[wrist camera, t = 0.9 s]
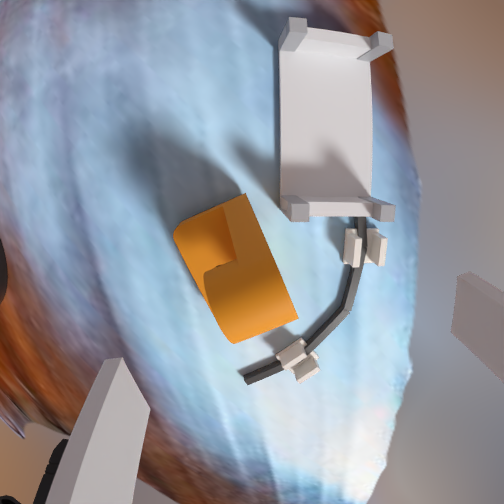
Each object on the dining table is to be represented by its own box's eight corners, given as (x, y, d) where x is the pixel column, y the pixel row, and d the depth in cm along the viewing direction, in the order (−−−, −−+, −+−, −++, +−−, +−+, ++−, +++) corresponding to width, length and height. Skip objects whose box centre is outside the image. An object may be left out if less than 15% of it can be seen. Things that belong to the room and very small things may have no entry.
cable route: (241, 377, 34) (242, 392, 32) (356, 210, 29) (367, 215, 27) (285, 393, 36) (288, 408, 33) (398, 240, 31) (411, 248, 28)
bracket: (174, 223, 28) (140, 268, 17) (245, 192, 28) (256, 217, 17) (221, 316, 32) (220, 396, 20) (286, 289, 31) (316, 361, 20)
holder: (279, 209, 29) (291, 221, 23) (278, 40, 24) (289, 17, 18) (367, 209, 29) (394, 221, 24) (366, 51, 24) (391, 34, 19)
